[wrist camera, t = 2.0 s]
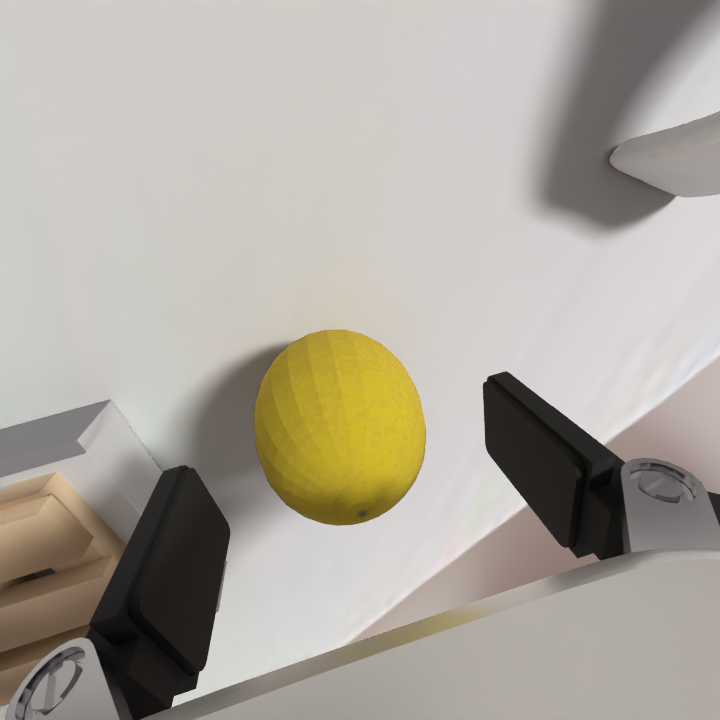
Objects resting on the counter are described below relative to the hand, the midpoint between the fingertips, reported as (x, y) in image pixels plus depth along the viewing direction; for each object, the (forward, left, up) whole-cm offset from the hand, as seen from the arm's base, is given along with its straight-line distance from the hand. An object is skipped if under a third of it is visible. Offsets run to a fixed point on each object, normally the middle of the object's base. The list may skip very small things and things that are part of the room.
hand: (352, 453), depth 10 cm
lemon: (-1, 0, -6) cm, 6 cm away
